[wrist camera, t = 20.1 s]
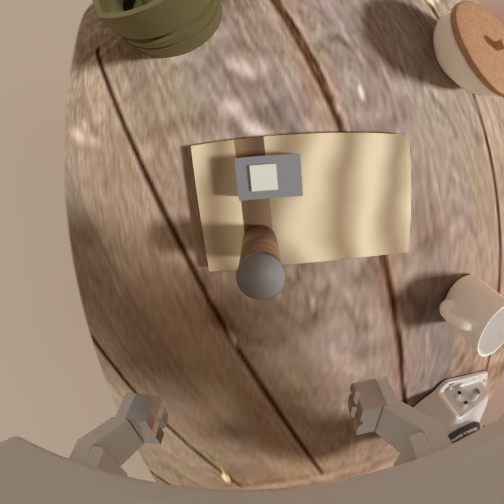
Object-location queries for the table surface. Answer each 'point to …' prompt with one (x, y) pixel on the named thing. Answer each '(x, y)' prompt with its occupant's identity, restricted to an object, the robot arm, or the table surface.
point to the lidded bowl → (471, 49)
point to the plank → (310, 197)
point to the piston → (161, 23)
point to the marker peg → (260, 264)
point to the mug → (475, 313)
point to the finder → (268, 176)
